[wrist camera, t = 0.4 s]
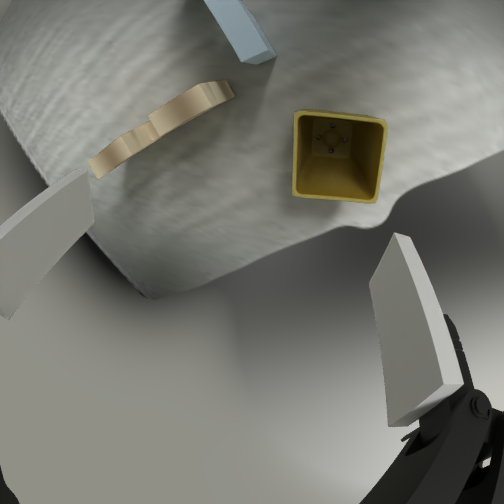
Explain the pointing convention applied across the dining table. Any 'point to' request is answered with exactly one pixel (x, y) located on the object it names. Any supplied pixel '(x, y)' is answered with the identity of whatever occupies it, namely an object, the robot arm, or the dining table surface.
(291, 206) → the dining table surface
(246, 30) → the pale blue upright slab
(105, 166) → the tan wooden block
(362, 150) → the flower pot
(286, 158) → the dining table surface
